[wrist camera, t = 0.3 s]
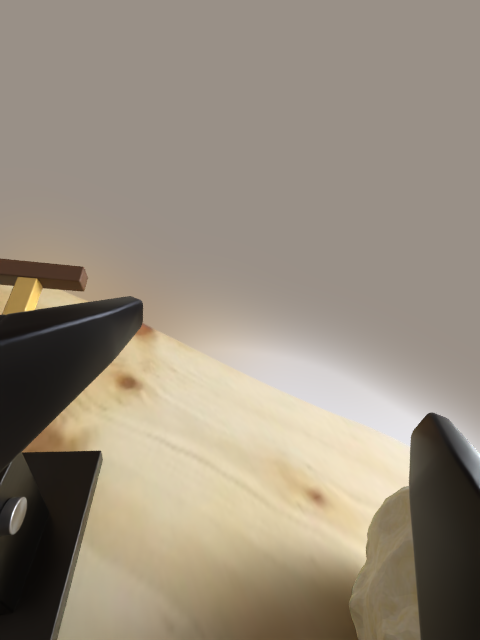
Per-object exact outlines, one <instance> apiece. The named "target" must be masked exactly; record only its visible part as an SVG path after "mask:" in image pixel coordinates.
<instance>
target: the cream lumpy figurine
mask: <svg viewBox="0 0 480 640" xmlns="http://www.w3.org/2000/svg"><path fill="white" fill-rule="evenodd" d="M367 537H368V540H367V545H366V557H367V560H366V563H365V565H364V566H363V567H362V569H361V571H360V573H359V574H358V577H357V579H356V581H355V583H354V586H353V588H352V596H351V599H350V601H349V609H350V613H351V616H352V620H353V623H354V626H355V629H356V632H357V636H358V640H421V638H420V625H419V613H418V600H417V588H416V575H415V563H414V550H413V538H412V526H411V513H410V500H409V486H407V487H403V488H401V489H400V490H398V491H397V492H396V493H394V494H393V495H391V496H389V497H388V498H386V499H385V501H384V502H383V504H382V506H381V507H380V508H379V509H378V511H377V512H376V514H375V515H374V517H373V519H372V522H371V524H370V526H369V529H368V533H367Z"/></svg>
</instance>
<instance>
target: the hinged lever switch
mask: <svg viewBox="0 0 480 640" xmlns="http://www.w3.org/2000/svg"><path fill="white" fill-rule="evenodd" d="M102 460H103V459H102V453H101V451H71V452H27V453H22V452H21V453H20V454H19V455H18V456H17V457H16V458H15V459H14V460H13V461H12V462H11V463H10V464H9V465H8V466H6V467H5V468H4V469H3V470H2V471H1V472H0V640H57V637H58V633H59V629H60V625H61V621H62V617H63V613H64V609H65V606H66V602H67V598H68V594H69V590H70V586H71V582H72V578H73V574H74V570H75V566H76V562H77V558H78V554H79V551H80V547H81V543H82V539H83V535H84V531H85V527H86V523H87V519H88V515H89V511H90V507H91V503H92V499H93V496H94V492H95V488H96V484H97V480H98V476H99V472H100V468H101V464H102Z"/></svg>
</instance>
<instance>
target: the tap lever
mask: <svg viewBox="0 0 480 640" xmlns="http://www.w3.org/2000/svg"><path fill="white" fill-rule="evenodd" d="M87 279H88V277H87V274H86V272H85V269H84V267H80V266H70V265H59V264H49V263H38V262H29V261H19V260H9V259H0V285H11V286H14V287H13V289H12V292H11V294H10V296H9V299H8V301H7V304H6V306H5V308H4V311H3V313H2V315H3V314H5V315H7V314H10V313H17V312H24V311H31V310H35V307H36V305H37V302H38V299H39V296H40V294H41V291H42V288H47V289H59V290H72V291H84V290H85V287H86V283H87Z"/></svg>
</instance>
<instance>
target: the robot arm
mask: <svg viewBox="0 0 480 640" xmlns="http://www.w3.org/2000/svg"><path fill="white" fill-rule="evenodd" d="M142 322H143V303H142V301H141V300H139V299H137V298H134V297H131V296H129V297H121V298H114V299H107V300H101V301H93V302H86V303H79V304H73V305H66V306H59V307H52V308H45V309H38V310H31V311H24V312H17V313H10V314H7V315H5V314H3V315H0V472H1V471H2V470H3V469H4V468H5V467H6V466H8V465H9V464H10V463H11V462H12V461H13V460H14V459H15V458H16V457H17V456H18V455H19V454H20V453H21V452H22V451H23V450H24V449H25V448H26V447H27V446H28V445H29V444H30V443H31V442H32V441H33V440H34V439H35V438H36V437H37V436H38V435H39V434H40V433H41V432H42V431H43V430H44V429H45V428H46V427H47V426H48V425H49V424H50V423H51V422H52V421H53V420H54V419H55V418H56V417H57V416H58V415H59V414H60V413H61V412H62V411H63V410H64V409H65V408H66V407H67V406H68V405H69V404H70V403H71V402H72V401H73V400H74V399H75V398H76V397H77V396H78V395H79V394H80V393H81V392H82V391H83V390H84V389H85V388H86V387H87V386H88V385H89V384H90V383H91V382H92V381H93V380H94V379H95V378H96V377H97V376H98V375H99V374H100V373H102V372H103V371H104V370H105V369H106V368H107V367H108V366H109V364H110V363H111V362H112V361H113V360H114V359H115V358H116V357H117V356H118V355H119V353H120V352H121V351H122V350H123V348H124V347H125V346H126V345H127V343H128V342H129V341H130V340H131V339H132V337H133V336H134V335H135V334H136V332H137V331H138V330H139V329H140V327H141V325H142ZM409 500H410V513H411V526H412V538H413V550H414V563H415V575H416V588H417V600H418V613H419V625H420V638H421V640H480V453H479V452H478V451H477V450H476V449H475V448H474V447H473V446H472V445H471V443H470V442H469V441H468V440H467V439H466V438H465V437H464V436H463V435H462V434H461V433H460V431H459V430H458V429H457V428H456V427H455V426H454V425H453V424H452V423H451V421H450V420H449V419H447V418H445V417H443V416H440V415H437V414H435V413H429V414H427V415H426V416H425V417H424V418H423V420H422V421H421V422H420V423H419V424H418V426H417V427H416V428H415V429H414V431H413V433H412V435H411V447H410V472H409Z"/></svg>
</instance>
